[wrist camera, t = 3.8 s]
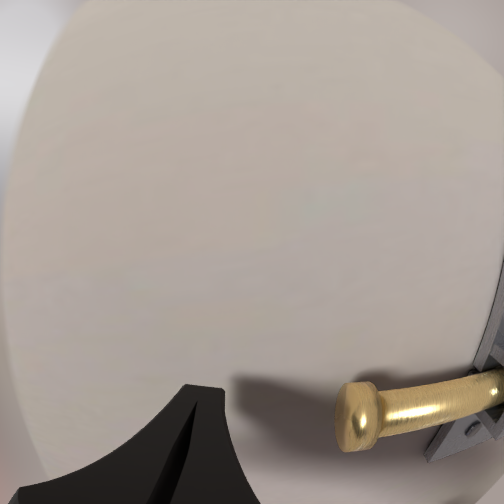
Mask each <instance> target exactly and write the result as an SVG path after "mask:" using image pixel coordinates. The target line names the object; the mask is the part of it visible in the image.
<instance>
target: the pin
mask: <svg viewBox="0 0 504 504" xmlns="http://www.w3.org/2000/svg"><path fill="white" fill-rule="evenodd" d="M503 402H504V367H501V368H497V369H494V370H490V371H487V372H483V373H479V374H475V375H471V376H467V377H463V378H458V379H454V380H449V381H444V382H439V383H434V384H428V385H422V386H416V387H409V388H402V389H394V390H386V391H378V390H377V388H376V387H375V385H374V384H373V383H371V382H354V383H345V384H344V385H343V386H342V387H341V389H340V391H339V394H338V397H337V401H336V407H335V435H336V440H337V443H338V446H339V448H340V449H341V450H342V451H343V452H353V451H361V450H368V449H370V448H372V447H373V446H374V444H375V443H376V441H377V439H378V438H379V437H385V436H391V435H396V434H402V433H406V432H411V431H416V430H420V429H424V428H428V427H432V426H436V425H439V424H443V423H447V422H450V421H453V420H456V419H460V418H463V417H466V416H469V415H472V414H474V413H477V412H480V411H483V410H485V409H488V408H490V407H493V406H495V405H498V404H500V403H503Z"/></svg>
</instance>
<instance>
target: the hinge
mask: <svg viewBox="0 0 504 504" xmlns="http://www.w3.org/2000/svg"><path fill="white" fill-rule="evenodd" d="M473 365H474V366H475V367H476V368H477V370H472V371H470V372H469V374H468V376H471V375H475V374H479V373H483V372H487V371H490V370H494V369H497V368H501V367H504V264H503V269H502V273H501V278H500V282H499V286H498V290H497V294H496V298H495V302H494V305H493V309H492V312H491V316H490V319H489V322H488V325H487V328H486V331H485V334H484V337H483V340H482V342H481V345H480V348H479V350H478V353H477V355H476V358H475V360H474V363H473ZM492 437H493V438H494V439H495V440H498V439H500V438H502V437H504V402H503V403H500V404H498V405H495V406H493V407H490V408H488V409H485V410H483V411H480V412H477V413H474V414H472V415H469V416H466V417H463V418H460V419H456V420H453V421H450V422H447V423H443V425H442V427H441V428H440V430H439V432H438V433H437V435H436V436H435V438H434V440H433V441H432V443H431V444H430V446H429V447H428V449H427V450H426V452H425V453H424V456H425V458H426V460H427V462H428V463H429V462H432V461H435V460H438V459H441V458H444V457H447V456H450V455H452V454H455V453H458V452H460V451H463V450H465V449H468V448H470V447H472V446H475V445H477V444H479V443H482V442H484V441H486V440H488V439H490V438H492Z"/></svg>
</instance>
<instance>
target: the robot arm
mask: <svg viewBox="0 0 504 504" xmlns="http://www.w3.org/2000/svg"><path fill="white" fill-rule="evenodd" d="M8 504H260V502H259V501H258V499H257V497H256V496H255V494H254V492H253V490H252V489H251V487H250V485H249V483H248V481H247V479H246V477H245V475H244V473H243V470H242V468H241V466H240V463H239V461H238V458H237V456H236V453H235V450H234V447H233V444H232V441H231V438H230V434H229V430H228V426H227V422H226V416H225V391H224V390H223V389H222V388H214V387H205V386H197V385H189V384H185V385H184V386H182V388H181V389H180V390H179V391H178V393H177V394H176V395H175V396H174V397H173V398H172V400H171V401H170V402H169V403H168V404H167V405H166V406H165V407H164V408H163V409H162V410H161V411H160V412H159V413H158V414H157V415H156V416H155V417H154V418H153V419H152V420H151V421H150V422H149V423H148V424H147V425H146V426H145V427H144V428H143V429H141V430H140V431H139V432H138V433H137V434H136V435H134V436H133V437H132V438H131V439H129V440H128V441H127V442H125V443H124V444H123V445H121V446H120V447H118V448H117V449H116V450H114V451H113V452H111V453H109V454H108V455H106V456H104V457H103V458H101V459H99V460H97V461H96V462H94V463H92V464H90V465H88V466H86V467H84V468H82V469H80V470H77V471H75V472H72V473H70V474H67V475H65V476H62V477H59V478H56V479H53V480H50V481H46V482H42V483H38V484H34V485H30V486H24V487H20V488H19V489H18V490H17V491H16V493H15V494H14V496H13V497H12V499H11V500H10V502H9V503H8Z"/></svg>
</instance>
